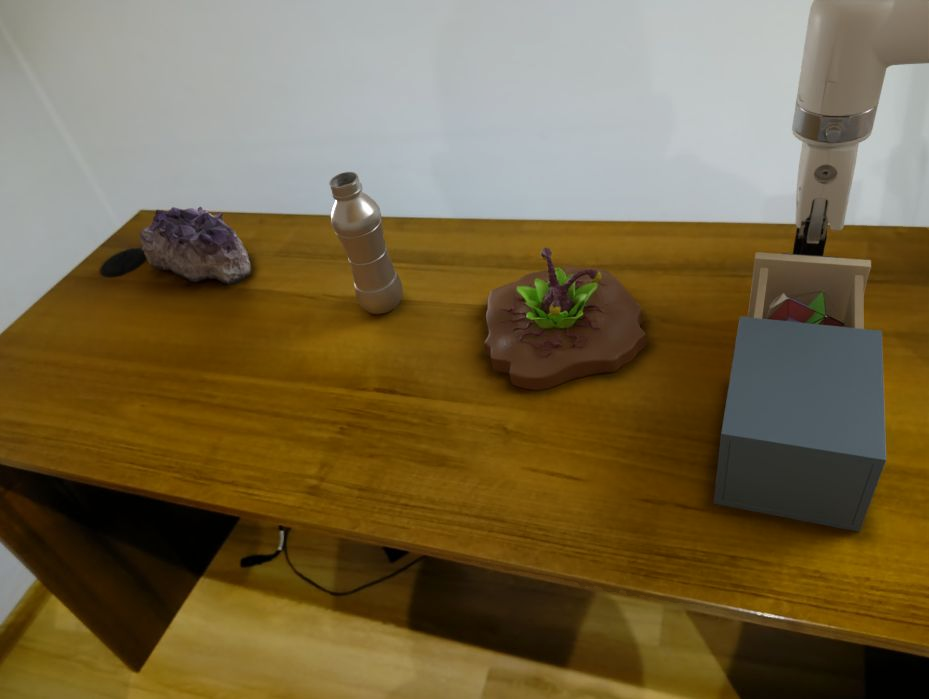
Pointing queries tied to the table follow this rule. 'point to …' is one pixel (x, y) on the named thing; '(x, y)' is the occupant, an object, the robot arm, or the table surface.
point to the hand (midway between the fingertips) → (806, 260)
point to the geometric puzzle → (803, 311)
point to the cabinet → (803, 422)
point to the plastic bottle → (364, 245)
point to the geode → (195, 246)
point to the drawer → (810, 284)
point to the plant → (562, 326)
